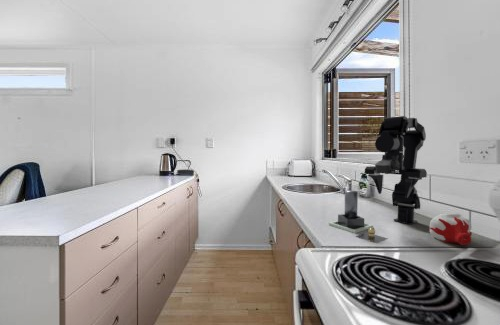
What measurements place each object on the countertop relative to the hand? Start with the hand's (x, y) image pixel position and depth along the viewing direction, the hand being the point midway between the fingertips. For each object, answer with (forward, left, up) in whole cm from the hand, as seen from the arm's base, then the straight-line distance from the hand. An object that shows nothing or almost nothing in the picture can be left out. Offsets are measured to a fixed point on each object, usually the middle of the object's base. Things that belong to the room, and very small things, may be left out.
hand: (392, 195), depth 87 cm
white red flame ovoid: (-4, +16, -13) cm, 21 cm away
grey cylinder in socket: (+10, -10, -12) cm, 19 cm away
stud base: (+15, +1, -13) cm, 20 cm away
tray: (+10, -10, -13) cm, 19 cm away
